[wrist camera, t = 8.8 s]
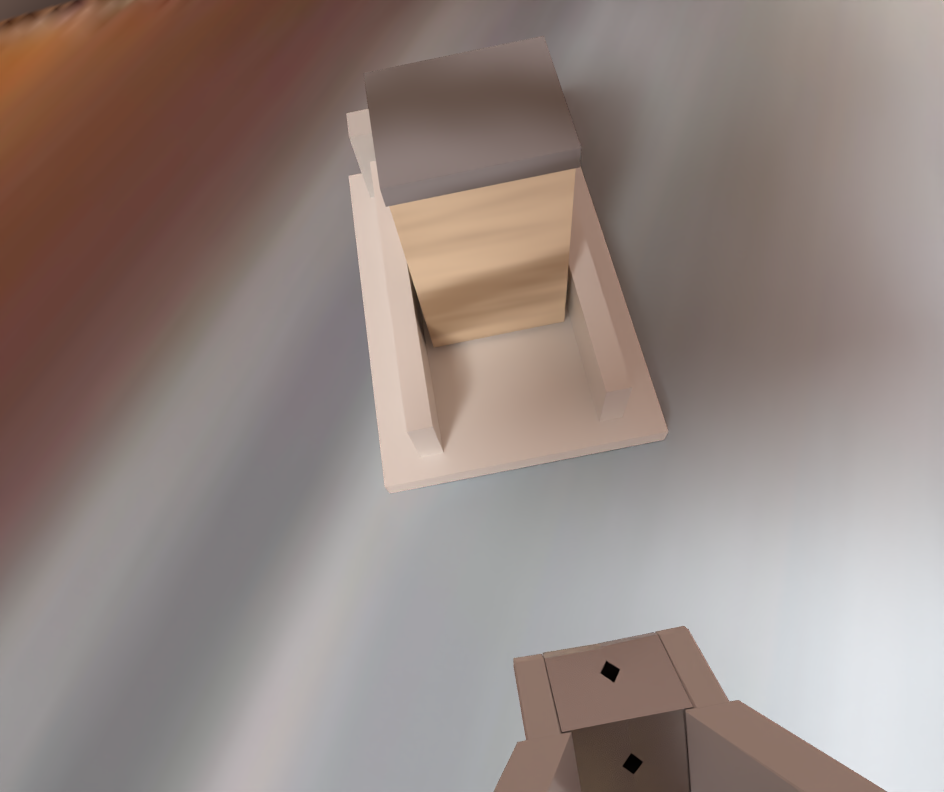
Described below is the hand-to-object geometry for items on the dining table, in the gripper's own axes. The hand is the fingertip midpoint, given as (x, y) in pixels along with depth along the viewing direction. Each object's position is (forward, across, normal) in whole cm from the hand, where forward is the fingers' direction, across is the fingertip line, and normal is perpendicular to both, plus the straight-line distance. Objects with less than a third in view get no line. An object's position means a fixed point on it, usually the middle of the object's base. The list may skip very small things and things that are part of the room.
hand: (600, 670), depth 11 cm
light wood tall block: (+21, 0, -3) cm, 21 cm away
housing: (+22, 0, -2) cm, 22 cm away
